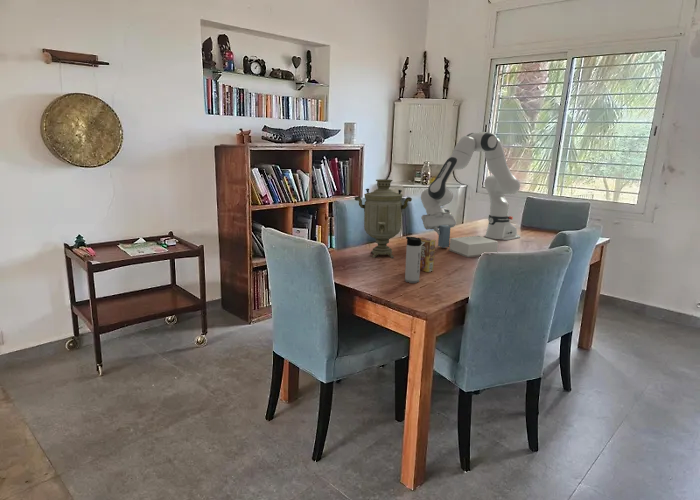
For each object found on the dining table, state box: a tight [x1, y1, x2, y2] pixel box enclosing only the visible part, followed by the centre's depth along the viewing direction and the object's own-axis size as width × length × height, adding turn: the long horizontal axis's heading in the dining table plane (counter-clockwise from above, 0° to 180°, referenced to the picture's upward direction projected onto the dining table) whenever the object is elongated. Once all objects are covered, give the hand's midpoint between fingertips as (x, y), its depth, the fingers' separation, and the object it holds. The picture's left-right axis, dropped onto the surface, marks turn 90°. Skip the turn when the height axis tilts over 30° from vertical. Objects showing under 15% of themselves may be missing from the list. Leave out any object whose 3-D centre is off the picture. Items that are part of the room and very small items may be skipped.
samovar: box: [354, 178, 413, 259], centre depth 239 cm, size 30×26×40 cm
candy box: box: [417, 236, 436, 273], centre depth 219 cm, size 9×4×15 cm, turn 39°
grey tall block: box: [437, 225, 452, 248], centre depth 263 cm, size 4×4×12 cm
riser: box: [448, 235, 499, 259], centre depth 255 cm, size 21×17×7 cm
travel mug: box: [404, 236, 421, 284], centre depth 201 cm, size 6×7×20 cm
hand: (444, 233), depth 263 cm, fingers closed on grey tall block, 4 cm apart
